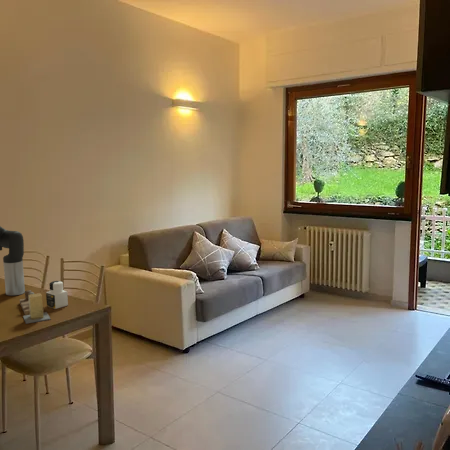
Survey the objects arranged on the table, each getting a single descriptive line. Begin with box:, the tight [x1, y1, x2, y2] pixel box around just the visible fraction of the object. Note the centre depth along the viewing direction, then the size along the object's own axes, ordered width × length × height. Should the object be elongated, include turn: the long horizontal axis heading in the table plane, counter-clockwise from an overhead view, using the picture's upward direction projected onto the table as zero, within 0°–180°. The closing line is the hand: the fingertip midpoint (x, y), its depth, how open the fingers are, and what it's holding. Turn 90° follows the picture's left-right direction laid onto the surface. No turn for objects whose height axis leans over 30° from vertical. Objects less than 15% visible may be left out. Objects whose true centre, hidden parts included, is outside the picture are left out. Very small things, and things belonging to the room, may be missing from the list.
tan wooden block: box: [28, 292, 44, 320], centre depth 205 cm, size 5×5×10 cm
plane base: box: [19, 289, 45, 316], centre depth 220 cm, size 20×8×8 cm, turn 30°
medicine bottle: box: [45, 280, 69, 310], centre depth 222 cm, size 7×7×12 cm
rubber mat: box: [22, 311, 51, 324], centre depth 206 cm, size 10×10×1 cm
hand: (1, 246), depth 209 cm, fingers open, 8 cm apart
